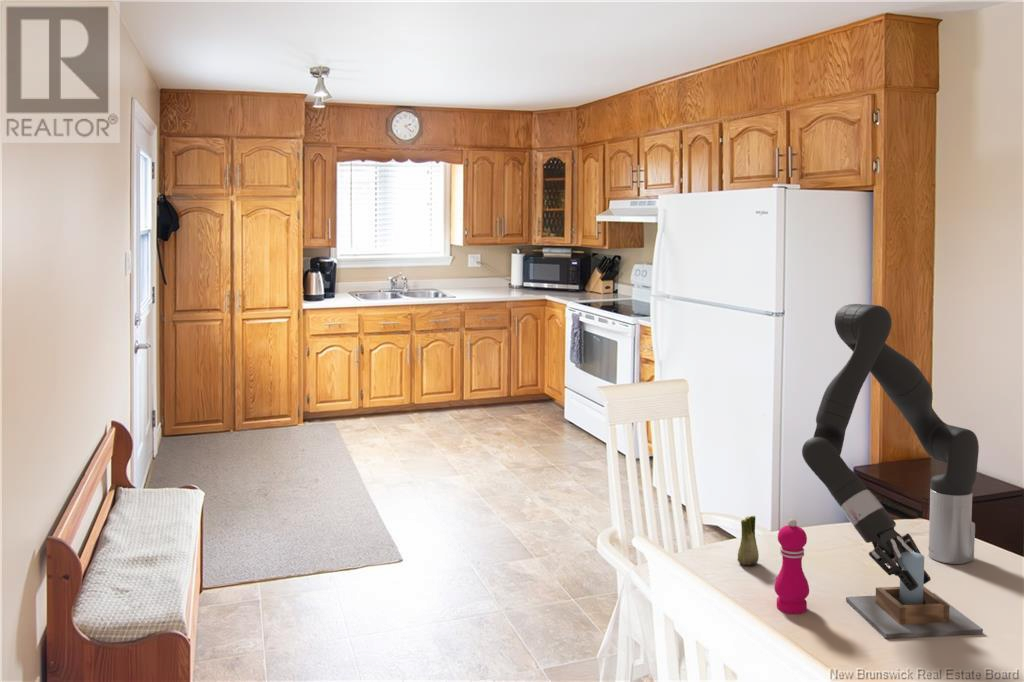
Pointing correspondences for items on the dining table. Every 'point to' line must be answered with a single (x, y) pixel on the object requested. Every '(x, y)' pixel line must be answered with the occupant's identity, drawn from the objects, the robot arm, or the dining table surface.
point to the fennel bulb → (748, 543)
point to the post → (916, 569)
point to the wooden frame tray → (911, 615)
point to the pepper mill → (792, 570)
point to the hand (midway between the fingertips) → (920, 585)
